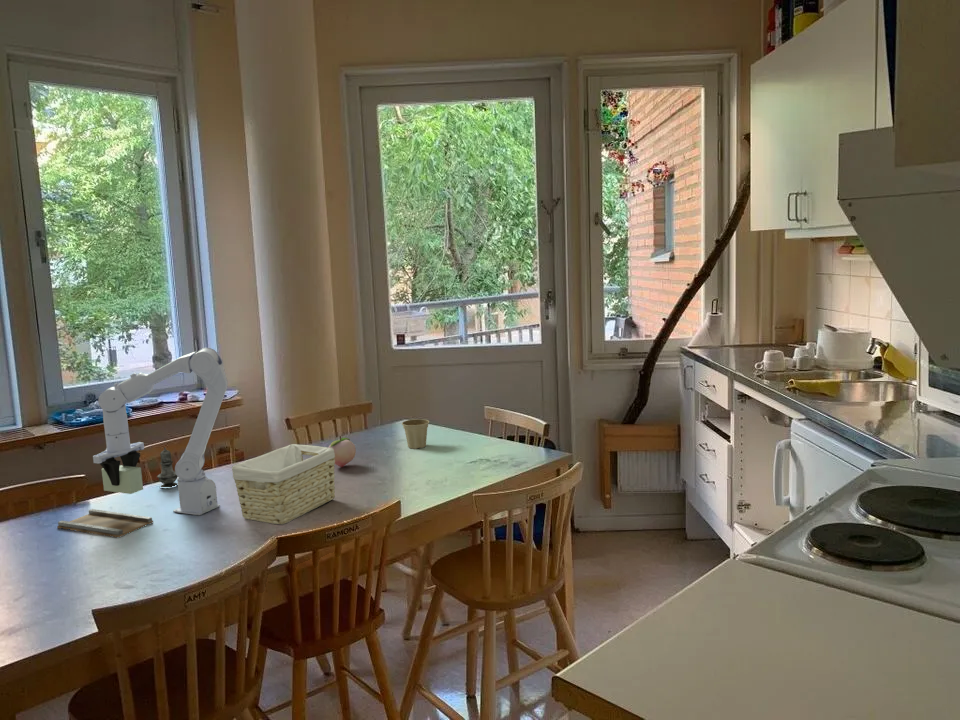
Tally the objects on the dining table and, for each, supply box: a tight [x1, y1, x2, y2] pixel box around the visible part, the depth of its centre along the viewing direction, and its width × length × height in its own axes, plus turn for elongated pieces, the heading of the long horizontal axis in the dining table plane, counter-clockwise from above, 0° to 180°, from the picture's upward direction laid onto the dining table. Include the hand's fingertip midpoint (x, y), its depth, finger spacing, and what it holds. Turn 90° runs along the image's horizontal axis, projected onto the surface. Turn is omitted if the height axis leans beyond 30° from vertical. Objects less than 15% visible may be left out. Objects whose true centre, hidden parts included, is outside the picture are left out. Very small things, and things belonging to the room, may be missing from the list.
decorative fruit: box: [327, 435, 357, 468], centre depth 245 cm, size 9×8×10 cm
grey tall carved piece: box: [157, 447, 178, 487], centre depth 233 cm, size 6×6×12 cm
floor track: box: [57, 508, 154, 538], centre depth 202 cm, size 22×11×2 cm, turn 65°
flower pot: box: [401, 418, 430, 450], centre depth 266 cm, size 9×9×9 cm
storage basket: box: [231, 443, 336, 525], centre depth 207 cm, size 24×16×15 cm
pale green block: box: [100, 464, 144, 495], centre depth 207 cm, size 10×4×6 cm, turn 65°
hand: (122, 482), depth 207 cm, fingers closed on pale green block, 4 cm apart
